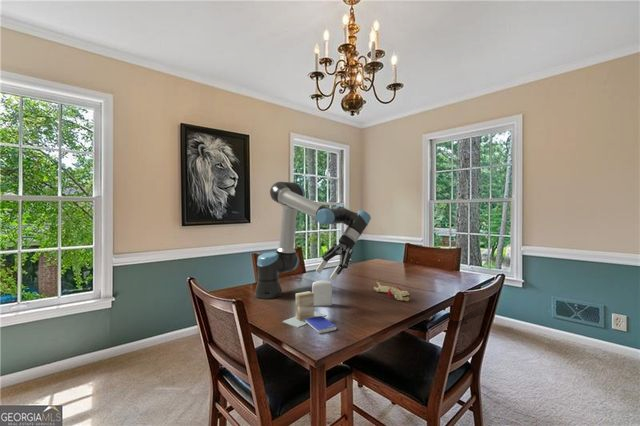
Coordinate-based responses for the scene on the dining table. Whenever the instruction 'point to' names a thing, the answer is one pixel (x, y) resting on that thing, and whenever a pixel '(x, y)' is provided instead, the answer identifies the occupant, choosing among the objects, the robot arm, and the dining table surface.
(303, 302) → the birch block
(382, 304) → the dining table surface
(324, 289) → the photo printer
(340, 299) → the dining table surface
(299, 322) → the mat
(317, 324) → the hard drive
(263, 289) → the robot arm
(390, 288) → the cat figure
